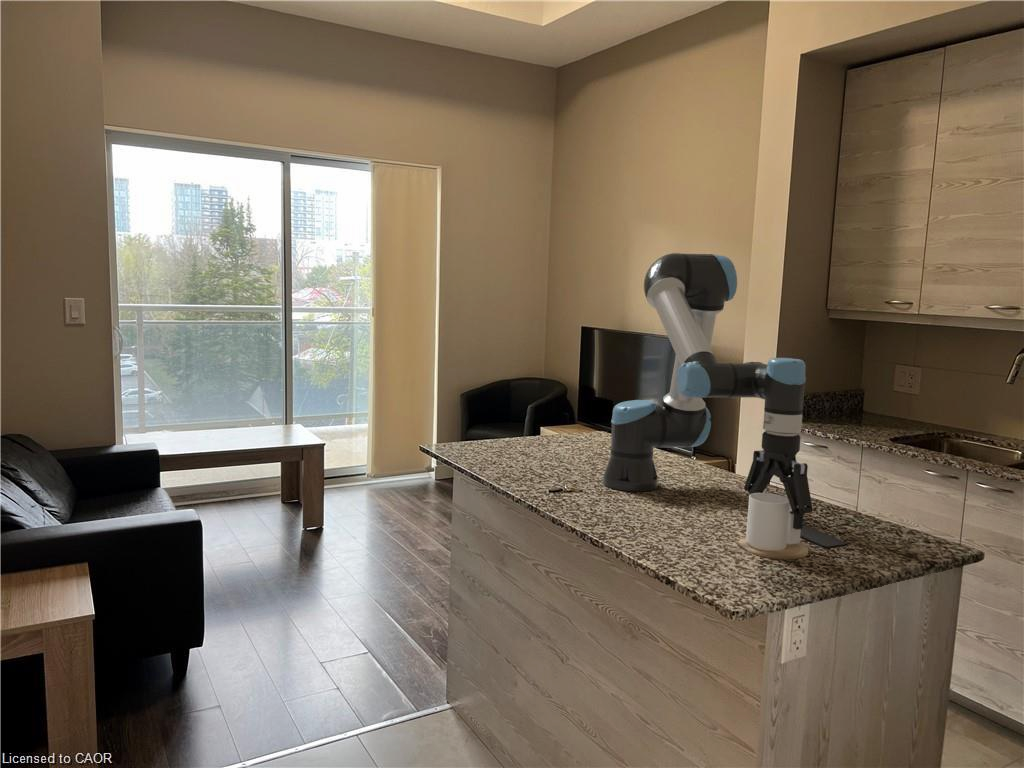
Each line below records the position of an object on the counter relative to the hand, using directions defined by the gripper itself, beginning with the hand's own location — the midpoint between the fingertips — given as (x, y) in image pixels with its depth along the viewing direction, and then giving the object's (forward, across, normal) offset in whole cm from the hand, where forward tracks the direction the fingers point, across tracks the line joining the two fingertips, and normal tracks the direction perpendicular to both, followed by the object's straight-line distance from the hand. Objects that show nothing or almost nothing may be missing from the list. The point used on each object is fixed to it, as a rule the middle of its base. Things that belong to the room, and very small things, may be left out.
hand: (773, 534), depth 157 cm
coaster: (+3, 0, 0) cm, 3 cm away
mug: (+2, 0, 0) cm, 2 cm away
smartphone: (+4, -4, +14) cm, 15 cm away
